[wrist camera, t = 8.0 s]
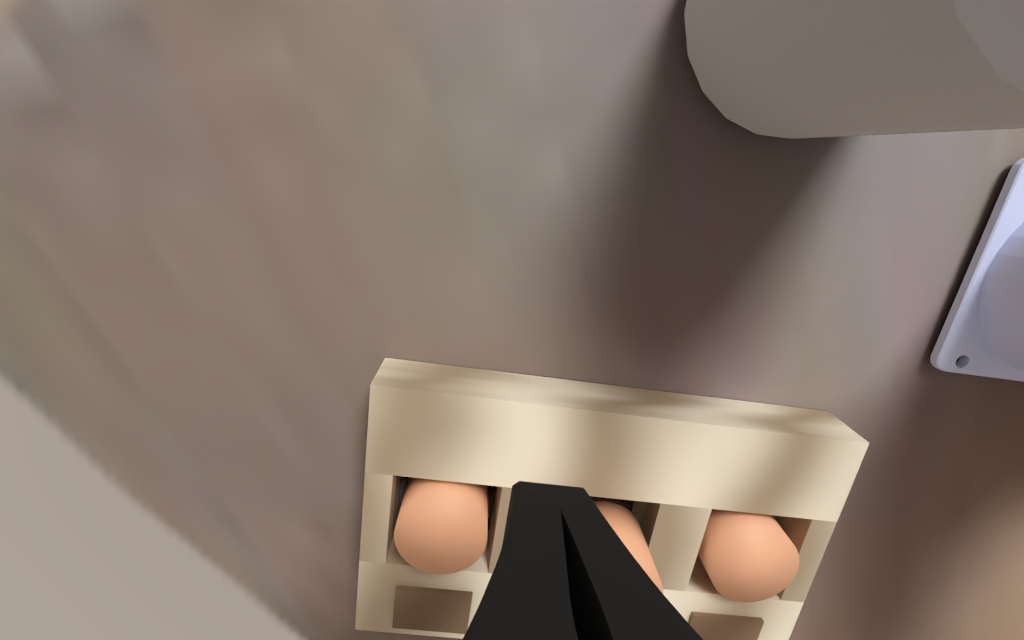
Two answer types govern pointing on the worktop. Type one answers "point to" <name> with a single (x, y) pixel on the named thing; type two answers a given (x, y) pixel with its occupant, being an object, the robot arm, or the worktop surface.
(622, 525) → the button mid
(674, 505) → the button board
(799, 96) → the can
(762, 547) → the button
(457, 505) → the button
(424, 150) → the worktop surface
